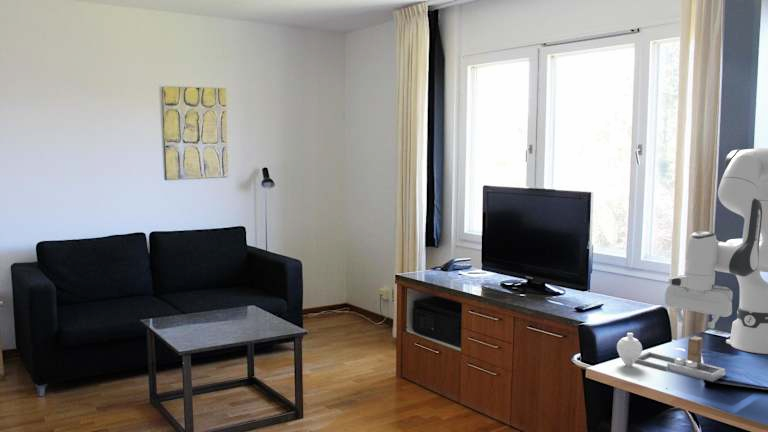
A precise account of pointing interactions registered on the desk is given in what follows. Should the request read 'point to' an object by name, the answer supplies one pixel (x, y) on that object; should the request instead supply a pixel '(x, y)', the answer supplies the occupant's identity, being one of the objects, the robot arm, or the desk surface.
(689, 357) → the tan long rectangular block
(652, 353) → the tray
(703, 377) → the slot block
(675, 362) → the shiny gray ball
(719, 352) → the desk surface
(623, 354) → the white vase
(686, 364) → the silver metal ball
